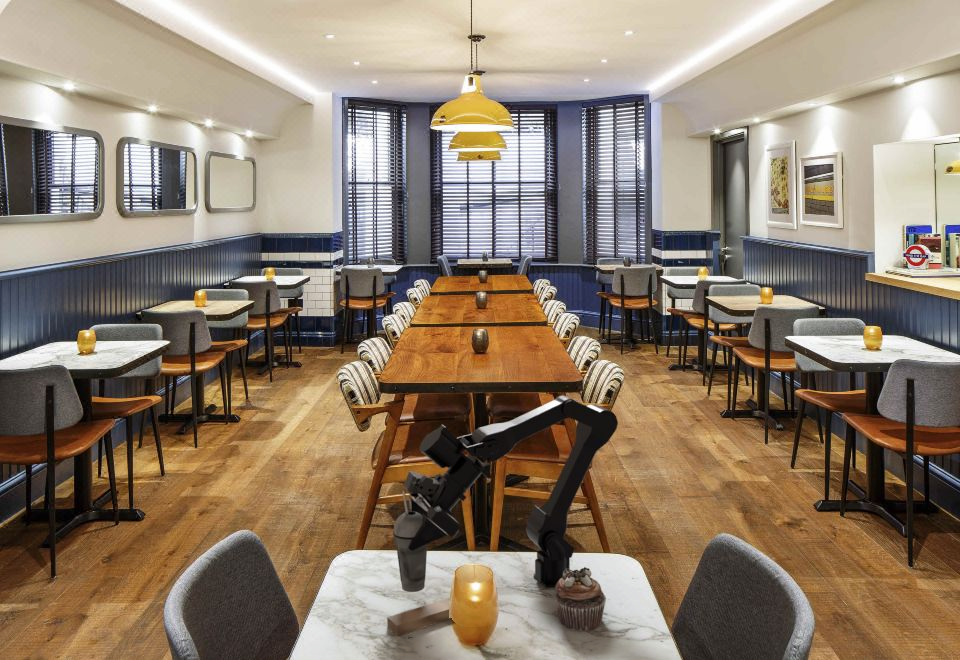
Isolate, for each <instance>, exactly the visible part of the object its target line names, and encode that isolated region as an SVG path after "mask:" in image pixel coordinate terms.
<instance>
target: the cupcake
mask: <svg viewBox="0 0 960 660" xmlns="http://www.w3.org/2000/svg"><path fill="white" fill-rule="evenodd" d="M592 573H593V572H592V570H590V568H589V567H588V568H587V567H586V566H584V567H582V568H581V569H579V570H578V569H574V570H572V569H568V568H565V571H564V572H563V578H561V579H560V580H559V581H558V582H557V584H556V586H555V592H554V599H555V604H556V607H557V608H556V609H557V614H558V617H559V621H560V623H561V625H562V626H563V627H564V628H566V629H568V630H573V631H576V632H577V631H579V632H584V631H585V632H588V631H593V630H595V629H597V628H599V627H600V626H601V624H602V621H603V616H604V610H605V606H606V600H607V596H606V595H605V594H604V592H603V590H602V586H601V584H600V583H599V582H598V580H596V579H594V578H592V577H591V576H592Z"/></svg>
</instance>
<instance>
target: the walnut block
mask: <svg viewBox="0 0 960 660" xmlns="http://www.w3.org/2000/svg"><path fill="white" fill-rule="evenodd" d="M450 598H451V597H448V598H445V599H442V600H439V601H435V602H431V603H428V604H425V605H423V606H419V607H415V608H413V609H409V610H406V611H403V612H399V613H397V614H394V615H389V616H387V617H386V618H387V619H386V620H387V628H388V629H389V630H390V631H391V632H392V633H394V634H395V635H396V636H402V635H405V634H406V633H407V632H408V633H411V632H414V631H416V629H417V630H419V629H423V628H425V626H426V627H429V626H432V625H435V624H437V623H440V622H444V621H446V620H447V621H448V620H449V601H450ZM431 624H432V625H431ZM428 625H429V626H428ZM422 627H423V628H422ZM408 633H407V634H408Z"/></svg>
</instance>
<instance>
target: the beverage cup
mask: <svg viewBox="0 0 960 660" xmlns="http://www.w3.org/2000/svg"><path fill="white" fill-rule="evenodd" d="M402 498H403V504H404V505H403V506H404V511H405V512H403V513H402V514H400V515H399V516H398V517H397V518H396V520H395V522H394V525H393V530H392V536H393V539H394V543H395V546H396V553H397V561H398V567H399V578H400V582H401V589H402V590H403V591H404V592H407V593H417V592H420V591H422V590H424V589H425V584H426V572H427V555H428V544H426V545H424V546H422V547H420V548H418V549H415V550H413V551H411V550H410V549H408V546H409V544H410V543H411V541H412V540H413V538H414V537H415V535H416V534H417V532H418V531H419V529H420V528H421V526H422V524H423V516H422V515H421V514H420V513H418V512H414V511H409V509H408V502H407V496H406V490H402ZM408 511H409V512H408Z"/></svg>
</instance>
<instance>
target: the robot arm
mask: <svg viewBox="0 0 960 660" xmlns="http://www.w3.org/2000/svg"><path fill="white" fill-rule="evenodd" d="M567 419H571V420H574V421H576V422H577V424H576V426H575V427H576V429H575V441H574V442H575V443H574V445H572V446H573V447H572V449H571V450H570V452H569V455H568V457H567V458H566V461H565V463H564V466H563V467H562V470H561V472H560V474H559V476H558V478H557V480H556V481H555V484H554V486H553V488H552V491H551V492H550V495H549V496H548V499H547V501H545V503H543V504H542V505H541V506H540V507H538V506H537V505H535V504H534V505H533V507H532V509H531V511H530V512H531V513H530V515H529V517H528V518H527V519H526V520H525V522H526V527H525V531H526V535H527V537H528V539H529V540H530V541H532V542H533V543H534V545H535V547H536V548H538V549H539V550H537V551H536V559H535V560H534V571H535V572H534V573H533V578H535V579H536V580H537V581H538V582H539V583H541V584H542V585H543V586H544V587H545V588H552V587H556V584H557V582H558V581H559V580H560V579H561V578H563V572H564V571H565V568H568V569H570V568H571V567H570V561H571V559H570V558H572V557H573V554H574V551H575V547H574V546H572V545H571V543H569V541H567V540H565V534H566V531H567V528H568V513H569V510H570V508H571V506H572V504H573V503H574V500H575V498H576V496H577V493H578V491H579V489H580V486H581V485H582V483H583V481H584V479H585V476H586V474H587V472H588V470H589V469H590V466H591V464H592V462H593V459H594V458H595V455H596V453H597V452H598V451H599V450H600V449H601V448H603V447H604V446H605V445H607V444H608V442H609V441H610V440H611V438H612V437H613V435H614V433H615V432H616V431H617V429H618V425H619V421H618V419H617V416H616V414H615V413H614V412H613V411H611V410H609V409H607V408H605V407H603V406H600V405H598V404H595V403H593V404H589V405H585V404H583V403H580V402H578V401H576V400H574V399H573V398H571V397H568V396H566V395H559V396H557V397H556V398H555V399H553V400H552V401H549V402H546V403H545V404H542V405H541V406H538V407H537V408H534V409H532V410H530V411H528V412H525V413H524V414H522V415H519V416H518V417H515V418H514V419H511V420H509V421H505V422H499V423H491V424H488V425H484V426H481V427H478V428H476V429H475V430H473V432H471V433H470V434H466V435H465V434H464V435H461V436H458V437H456V436H455V435H454V434H453V433H452V431H450V429H449V428H448V427H447V426H445V425H444V424H441V425H440V426H439V427H438V428H436V429H434V430H433V431H431V432H430V433H427V434H426V435H425V437H424V438H423V439H422V441H421V443H420V445H419V451H420V452H421V453H422V454H423V455H425V456H426V457H427V458H428V459H429V460H431V461H432V462H433V463H434V464H435V465H436V466H438V467H439V468H440V469H445V468H447V470H446V471H445V472H444V473H443V474H441V473H438V474H436V475H435V476H434V477H431V476H429V475H425V474H422V473H419V472H416V471H413V470H409V471H408V473H407V476H406V479H405V481H404V484H403V487H405V488H406V490H407V493H408V494H409V495H408V496H407V497H408V504H409V505H408V506H409V509H408V512H409V511H414V512H418V513H420V514H421V515H422V516H423V524H422V526H421V528H420V529H419V531H418V532H417V534H416V535H415V537H414V538H413V540H412V541H411V543H410V544H409V546H408V549H410V550H411V551H413V550H415V549H418V548H420V547H422V546H424V545H426V544H427V545H428V544H430V543H432V542H434V541H438V540H440V539H442V538H444V537H445V538H448V537H449V536H450V537H451V538H453V539H454V538H455V537H456V536H457V534H458V533H459V532H460V531H461V530H460V523H459V522H458V521H457V520H456V518H455V517H453V516H452V515H453V514H454V513H453V512H452V509H453V508H454V507H455V506H456V505H457V503H458V502H459V501H460V500H461V501H463V502H464V501H465V500H466V499H467V496H466V495H465V494H466V493H467V491H468V490H469V489H470V488H471V486H472V485H474V483H476V481H477V479H478V478H480V476H481V475H484V477H486V478H487V479H488V480H489V479H492V472H491V469H492V465H491V464H490V463H494V462H496V461H498V460H500V459H501V458H503V457H504V456H505V455H507V454H509V453H510V452H511V451H512V450H513V448H515V446H516V445H517V444H519V443H520V442H521V441H524V440H525V439H528V438H530V437H531V436H533V435H535V434H537V433H540V432H541V431H544V430H546V429H548V428H550V427H552V426H554V425H557V424H558V423H560V422H562V421H564V420H567ZM464 451H465V452H467V453H468V454H469V455H466V454H464ZM477 457H479V458H481V459H483V460H484V461H486V462H482V461H481V460H479V458H477ZM488 462H490V463H488ZM570 570H571V569H570Z"/></svg>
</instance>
